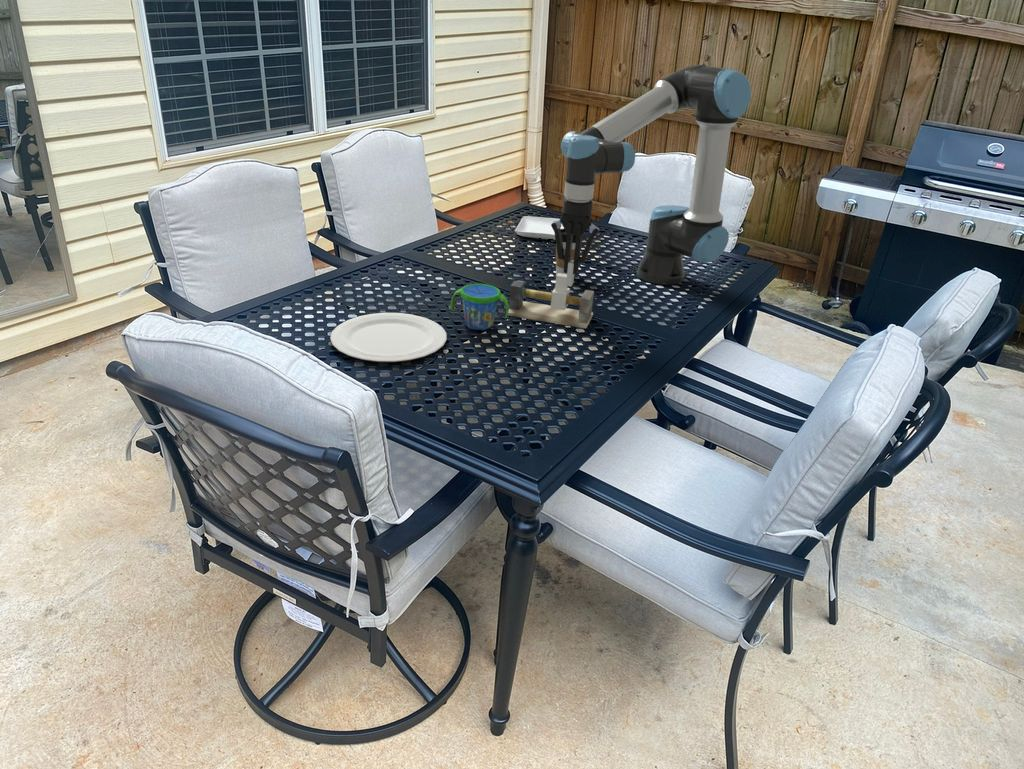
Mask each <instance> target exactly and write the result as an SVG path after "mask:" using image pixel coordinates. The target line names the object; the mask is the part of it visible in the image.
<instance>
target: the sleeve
mask: <svg viewBox="0 0 1024 769" xmlns="http://www.w3.org/2000/svg"><path fill="white" fill-rule="evenodd" d="M566 280H567V274H562V273H558V274H557V275H556V274H555V283H554V288H553V290H552V291H551V293H552V298H551V301H550V306H551V308H552V309H558V310H564V311H565V309H566V308H568V306H569V304H567V303H566V297H567V295H568V296H570V292H571V288H569V286H566Z"/></svg>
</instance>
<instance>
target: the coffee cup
mask: <svg viewBox="0 0 1024 769" xmlns="http://www.w3.org/2000/svg"><path fill="white" fill-rule="evenodd" d="M561 234H562V241H563V248H564V254H565V248H566V234H567V232H566V231H565V229H561ZM575 244H576V235H575V234H573V239H572V249H571V258H570V260H574V254H575ZM558 273H562V274H567V273H564V260H562V259H559V258H558V253H557V246H556V245H555V276H556V275H557V274H558ZM575 276H576V274H574V277H575Z"/></svg>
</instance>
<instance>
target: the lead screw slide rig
mask: <svg viewBox="0 0 1024 769" xmlns="http://www.w3.org/2000/svg"><path fill="white" fill-rule="evenodd" d="M509 286H510V288H509V289H510V290H509V301H508V304H509V312H508V315H507V316H508V317H509V316H510V317H517V318H520V319H521V318H523V319H528V320H533V321H539V322H546V323H551V324H558V325H562V326H567V327H568V326H569V327H575V328H580V329H587V328H588V326H589V324H590V322H591V320H592V318H593V317H594V312H593V305H594V304H593V302H594V294H595V290H588V289H585V290H584V292H583V293H582V295H581V297H578V296H573V295H569V296H568V295H567V297H566V303H567V304H568V305H573V306H574V305H575V306H579V309H573V308H568V307H567V308H566V309H565V311H564V310H558V309H552V308H551V304H550V305H549V304H543V303H539V302H530V301H526V300H525V301H524V298H531V299H537V300H544V301H549V302H551V298H552V292H549V291H542V290H536V289H531V288H527V287H525V281H520V280H514V281H513V282H512V283H511V284H510V285H509Z"/></svg>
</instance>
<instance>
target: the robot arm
mask: <svg viewBox="0 0 1024 769" xmlns="http://www.w3.org/2000/svg"><path fill="white" fill-rule="evenodd" d="M751 98H752V87H751V83H750V80H749V79H748V78H747V76H746V75H745V74H744V73H743V72H741V71H737V70H734V69H732V68H726V67H718V66H711V65H704V64H695V65H691V66H687V67H683V68H681V69H678V70H677V71H675V72H672V73H670V74H669V75H667V76H664V78H662V79H660V80H658V81H657V82H655V85H654V86H653V89H651V90H649V91H647V92H646V93H644V94H643V95H641V96H639V97H637V98H636V99H634V100H633V101H631V102H629V103H627V104H626V105H623V107H621V108H619V109H617V110H616V111H615V112H612V113H611V114H610V115H608V116H606V117H604V118H602V119H601V120H599V121H598V122H596V123H595V124H593V125H591V126H589V127H588V128H587V129H584V130H583V131H576V130H575V131H574V130H571V131H569V132H567V133H566V134H565V135H564V136H563V138H562V140H561V143H560V149H561V154H562V155H563V156H564V157H565V158H566V168H565V169H566V170H565V182H564V192H563V196H564V199H563V201H562V202H563V203H562V204H563V205H562V212H561V216H560V218H559V219H560V220H558V221H554V222H553V223H552V224H551V227H552V228H553V230H554V233H555V240H554V241H555V247H556V246H557V253H558V258H559V259H562V260H564V273H567V280H566V286H568V287H573V284H574V279H575V276H574V274H575V275H577V274H578V273H579V270H580V263H585V262H586V260H587V258H588V255H589V253H590V250H591V248H592V244H593V242H594V239H595V237H596V235H597V234H598V233H599V231H600V226H596V225H595V224H594V223H593V219H592V210H593V201H592V199H594V191H595V183H596V177H597V175H602V174H603V175H604V174H616V173H617V174H620V173H624V172H628V171H630V170H631V169H632V168H633V167H634V164H635V162H636V151H635V148H634V146H633V145H632V144H631V143H630V142H626V141H622V140H625V139H626V138H628V137H630V136H631V135H633V134H634V133H636V132H637V131H640V130H641V129H642V128H644V127H646V126H647V125H649V124H650V123H653V121H655V120H657V119H659V118H660V117H662V116H664V115H665V114H670V115H671V114H673V113H676V112H677V111H679V110H683V109H692V110H695V116H694V117H695V118H694V121H695V122H696V124H697V125H698V126H699V131H698V137H697V145H696V153H695V154H696V155H695V162H694V170H693V178H692V187H691V194H690V201H689V207H688V206H683V205H660V206H656V207H654V208H653V209H652V211H651V216H650V218H649V225H648V226H649V227H648V234H647V240H646V241H647V242H646V248H645V252H644V255H643V257H642V258H641V261H640V262H639V265H638V267H637V271H636V275H637V277H638V278H639V279H641V280H642V281H645V282H647V283H648V282H649V283H651V284H656V285H665V286H666V285H668V286H669V285H676V284H681V283H682V282H684V278H685V266H684V261H683V256H686V257H687V258H690V259H692V260H694V261H696V262H700V263H702V264H703V263H704V264H705V263H706V264H708V263H709V264H710V263H712V262H713V261H716V260H717V259H718V258H719V257H720V256H721V255H722V254H723V253H724V251H725V250H726V248H727V245H728V243H729V239H730V234H729V231H728V229H727V228H726V227H725V226H723V221H724V216H723V214H722V213H721V212H720V206H721V200H722V193H723V187H724V186H723V185H724V178H725V174H726V173H725V171H726V166H727V160H728V159H727V158H728V151H729V145H730V136H731V131H732V128H733V127H734V126H735V125H736V124H738V121H739V118H740V117H741V116H743V115H744V114H745V112H746V111H747V108H749V105H750V102H751ZM561 224H562V225H563V227H564V229H565V231H566V232H567V234H566V248H565V254H564V248H563V241H562V234H561V229H560V228H561ZM588 229H589V236H588V238H587V241H586V244H585V246H584V250H583V253H581V251H582V243H583V242H582V241H583V236H584V234H585V232H587V230H588ZM573 234H575V235H576V244H575V254H574V260H570V258H571V249H572V239H573ZM581 254H582V255H581Z"/></svg>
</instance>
